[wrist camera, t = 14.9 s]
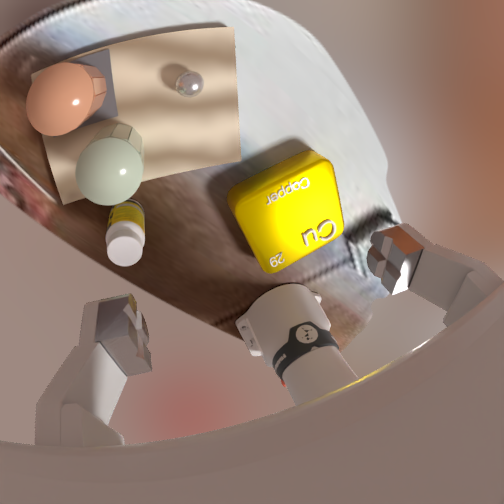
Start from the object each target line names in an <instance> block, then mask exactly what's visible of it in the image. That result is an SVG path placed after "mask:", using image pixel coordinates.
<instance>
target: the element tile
mask: <svg viewBox="0 0 504 504" xmlns="http://www.w3.org/2000/svg"><path fill="white" fill-rule="evenodd" d="M227 202H228V205H229V207H230V209H231V211H232V213H233V215H234V217H235V219H236V221H237V223H238V225H239V227H240V229H241V231H242V233H243V234H244V236H245V238H246V240H247V242H248V244H249V246H250V248H251V250H252V252H253V254H254V256H255V258H256V259H257V261H258V263H259V264H260V266H261V268H262V270H263V271H265V272H266V273H276V272H278V271H280V270H282V269H284V268H285V267H287V266H289V265H291V264H292V263H294V262H296V261H298V260H300V259H301V258H303V257H305V256H307V255H308V254H310V253H312V252H314V251H315V250H317V249H319V248H321V247H322V246H324V245H326V244H328V243H329V242H331V241H333V240H335V239H336V238H337V237H339V236H340V235H341V234H342V232H343V229H344V220H343V214H342V208H341V203H340V197H339V192H338V187H337V182H336V177H335V172H334V167H333V165H332V163H331V162H330V161H329V160H328V159H326V158H325V157H323V156H321V155H320V154H318V153H316V152H314V151H312V150H307V151H304V152H301V153H299V154H297V155H295V156H293V157H291V158H289V159H287V160H284V161H282V162H280V163H278V164H276V165H274V166H272V167H270V168H268V169H266V170H264V171H262V172H260V173H258V174H256V175H254V176H252V177H250V178H248V179H246V180H244V181H242V182H240V183H239V184H237V185H235V186H234V187H232V188H231V190H230V191H229V192H228V195H227Z"/></svg>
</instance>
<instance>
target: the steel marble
mask: <svg viewBox="0 0 504 504" xmlns="http://www.w3.org/2000/svg"><path fill="white" fill-rule="evenodd" d="M175 87H176V90H177V92H178V93H179V94H180V95H181V96H183V97H194V96H196V95H198V94H199V93H200V92H201V91H202V90H203V87H204V79H203V77H202V76H201V75H200V74H199V73H198V72H195V71H186V72H184V73H182V74H181V75H179V77H178V78H177V80H176V83H175Z"/></svg>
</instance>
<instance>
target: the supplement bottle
mask: <svg viewBox="0 0 504 504" xmlns="http://www.w3.org/2000/svg"><path fill="white" fill-rule="evenodd" d="M144 243H145V225H144V210H143V208H142V206H141V205H140V204H139V203H138V202H137V201H135V200H133V199H127V200H126V201H124V202H122V203H119V204H116V205H113V206H112V208H111V210H110V214H109V220H108V225H107V231H106V244H107V254H108V257H109V259H110V260H111V261H112V262H113V263H115V264H116V265H119V266H130V265H133V264H135V263H136V262H138V261H139V259H140V258H141V256H142V248H143V246H144Z"/></svg>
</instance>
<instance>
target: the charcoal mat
mask: <svg viewBox="0 0 504 504" xmlns="http://www.w3.org/2000/svg"><path fill="white" fill-rule="evenodd" d="M69 63H78V64H84V65H89V66H94V67H96V68H97V69H98V70H99V71H100V72H101V73H102V74H103V75H104V76H105V77H104V78H105V81H106V88H107V91H106V92H107V93H106V95H105V98H104V101H103V103H102V106H101V107H100V108H99V109H98V110H97V111H96V112H95V113H94V114H93V115H92V116H91V117H90V118H89V119H87V120H86V121H85V122H84V123H82V124H81V125H80V126H79V127H77V128H76V129H78V128H81V127H84V126H87V125H90V124H93V123H97V122H100V121H103V120H106V119H110V118H113V117H117V116H118V111H117V105H116V98H115V92H114V85H113V77H112V69H111V60H110V50H109V49H107V50H104V51H100V52H97V53H94V54H91V55H87V56H84V57H82V58H79V59H76V60H73V61H70V62H69ZM76 129H74V130H76ZM72 131H73V130H72ZM54 137H57V136H53V138H54Z"/></svg>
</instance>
